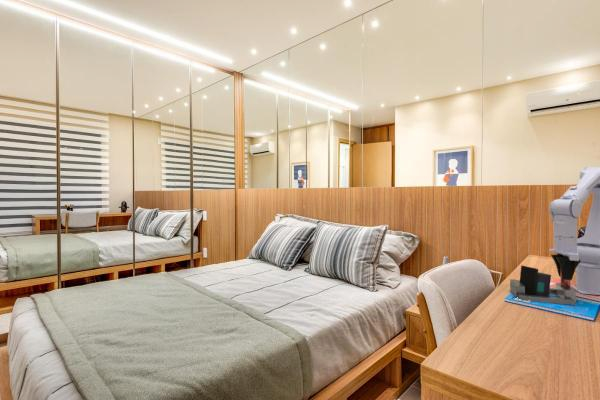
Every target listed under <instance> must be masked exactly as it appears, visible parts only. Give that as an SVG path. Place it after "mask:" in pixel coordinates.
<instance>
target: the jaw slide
mask: <svg viewBox="0 0 600 400" xmlns="http://www.w3.org/2000/svg"><path fill="white" fill-rule="evenodd" d="M560 270H561V268H560ZM555 289H556V294H555V296H557V298H559V297H560V298H566V299H573V300H574V301H575V303H576V304H577V297H576V296H577V294H576V293H577V290H575V289H574V288H572V287H571V280H564V279H563V278H562V274H561V277H560V282H556V283H555Z"/></svg>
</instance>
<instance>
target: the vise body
mask: <svg viewBox="0 0 600 400" xmlns="http://www.w3.org/2000/svg"><path fill="white" fill-rule="evenodd" d="M509 280H510V281H509V282H510V283H509V286H510V287H509V289H510V292H511V294H512V295H513V294H514V295H513V296H514V297H515V298H516V297H518V298H519V299H521V300H520V301H524V300H530V301H529V302H534V301H537V303H544V302H548V303H547V304H554V303H557V304H556V305H564V304H571V305H570V306H574V305H576V304H575V301H574V300H573V299H566V298H559V297H555V296H554V297H553V296H549V297H545V296H535V295H525V286H524V285H523V284H522V283H520V279H513V278H511V279H509ZM549 295H556V288H554V287H553V288H551V287H550V290H549ZM518 298H517V299H518ZM519 299H518V300H519Z"/></svg>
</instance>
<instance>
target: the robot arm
mask: <svg viewBox="0 0 600 400" xmlns="http://www.w3.org/2000/svg"><path fill="white" fill-rule="evenodd" d="M580 170H581V171H580V172H579V173H580V174H579V181H578V183H577V184H576V185H571V186H570V187H569V188H568V189H567V190H566V191H565V192H564V193H563V194H562V195H561V197H560V198H558V199H554V200H552V201H551V202H550V204H549V207H548V211H549V213H550V216H551V217H550V218H551V222H552V223H553V248H549V249H548V251H549V252H550V253H556V254H551V258H552V260H553V262H554V264H555V266H556V269H557V271H556V272H557V273H558V276H559V277H560V278H561V274H562V278H563V279H564V280H570V281H572V280H573V279H574V278H573V277H574V275H576V276H575V280H576V281H575V284H576V285H570V287H571V288H572V289H574V290H575V291H576V292H578V293H579V294H583V295H585V294H586V295H594V296H596V295H598V296H600V166H593V167H582V169H580ZM590 194H591V195H593V197H592V201H591V207H590V210H589V215H588V218H587V222H586V226H585V231H584V233H583V234H584V235H583V236H581V237H579V238H578V217H580V216H581V214H582V209H583V208H584V206H583V205H584V204H585V203H586V201H587V200H588V199H589V198H590V197H591V195H590ZM560 268H561V270H560ZM575 271H576V272H575Z"/></svg>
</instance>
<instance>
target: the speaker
mask: <svg viewBox="0 0 600 400" xmlns="http://www.w3.org/2000/svg"><path fill="white" fill-rule="evenodd" d="M519 274H520V275H519V281H520V283H522V284H523V285H524V286H525V295H535V296H545V297H550V294H549V290H550V288H551V278H552V274H548V273H544V272H539V268H537V267H536V268H535V267H530V266H525V265H523V264H522V265H521V266H520V273H519Z"/></svg>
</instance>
